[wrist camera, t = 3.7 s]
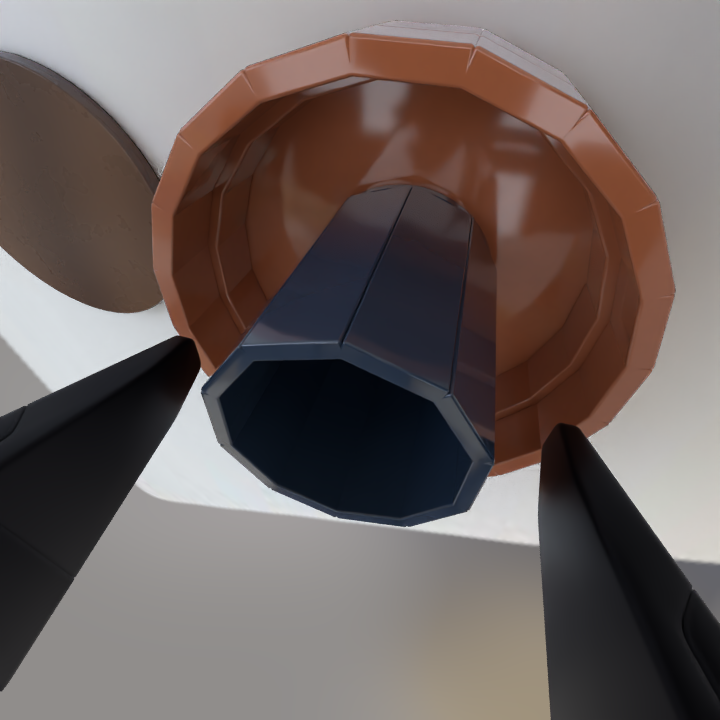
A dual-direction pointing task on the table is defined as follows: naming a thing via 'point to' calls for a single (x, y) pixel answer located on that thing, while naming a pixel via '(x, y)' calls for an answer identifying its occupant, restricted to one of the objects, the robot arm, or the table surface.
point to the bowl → (441, 174)
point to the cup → (371, 365)
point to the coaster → (73, 192)
